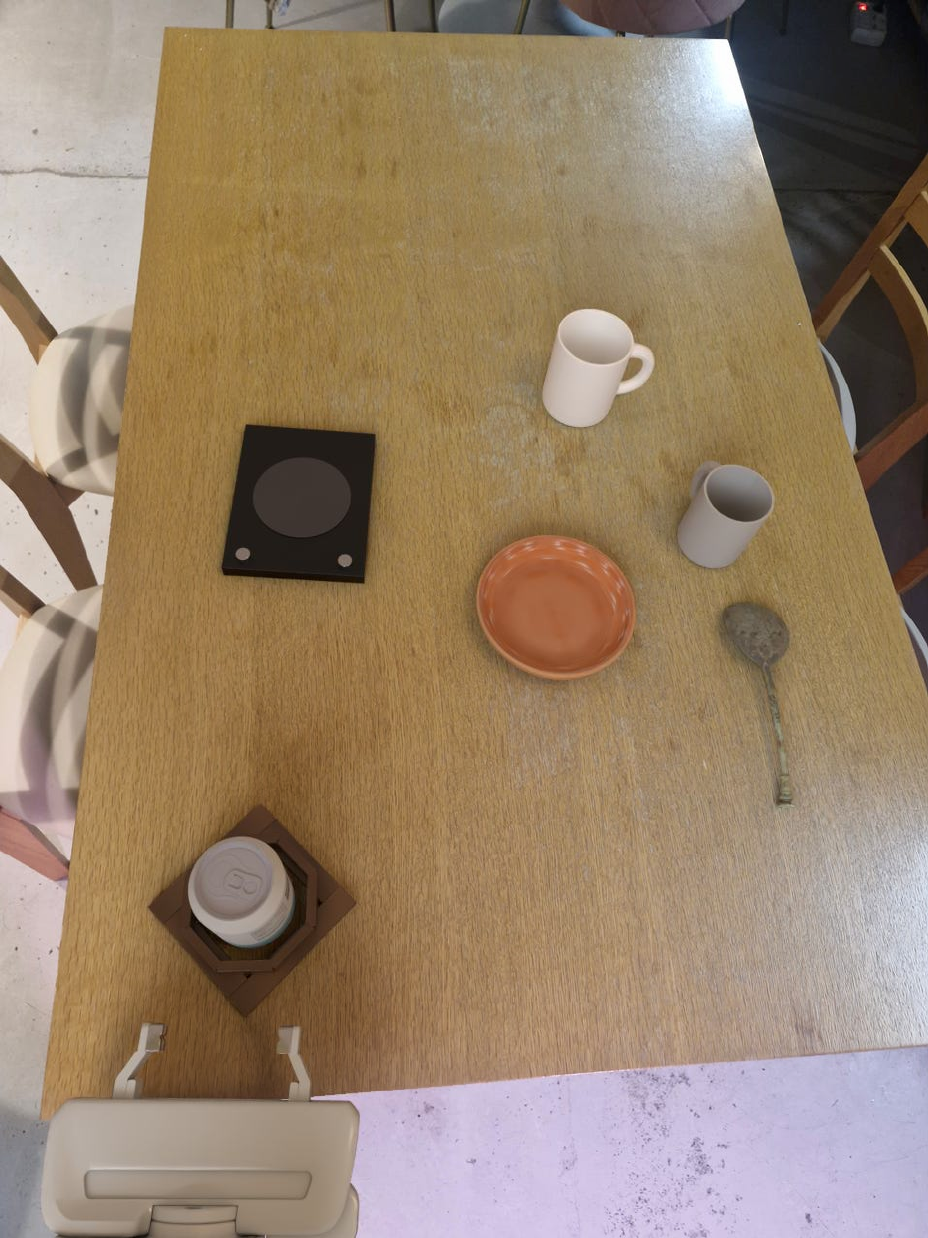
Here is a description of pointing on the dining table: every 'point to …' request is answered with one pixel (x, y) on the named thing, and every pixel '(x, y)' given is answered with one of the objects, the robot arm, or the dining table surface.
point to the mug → (591, 367)
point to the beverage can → (242, 892)
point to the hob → (301, 505)
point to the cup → (723, 513)
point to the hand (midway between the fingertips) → (223, 1024)
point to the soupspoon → (763, 663)
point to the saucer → (555, 607)
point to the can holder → (269, 973)
